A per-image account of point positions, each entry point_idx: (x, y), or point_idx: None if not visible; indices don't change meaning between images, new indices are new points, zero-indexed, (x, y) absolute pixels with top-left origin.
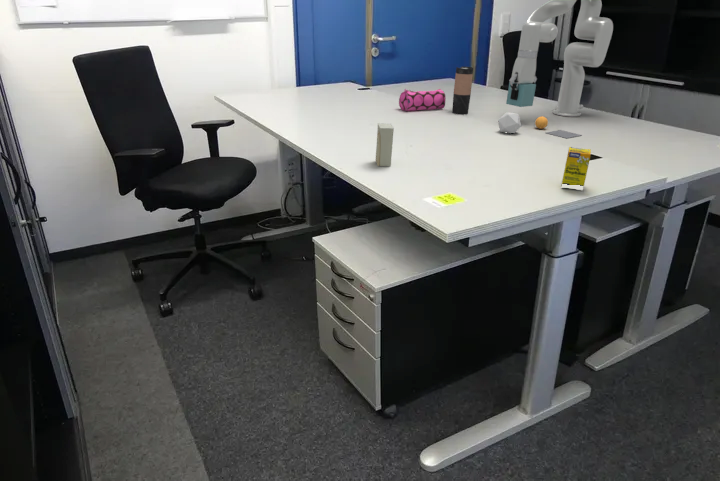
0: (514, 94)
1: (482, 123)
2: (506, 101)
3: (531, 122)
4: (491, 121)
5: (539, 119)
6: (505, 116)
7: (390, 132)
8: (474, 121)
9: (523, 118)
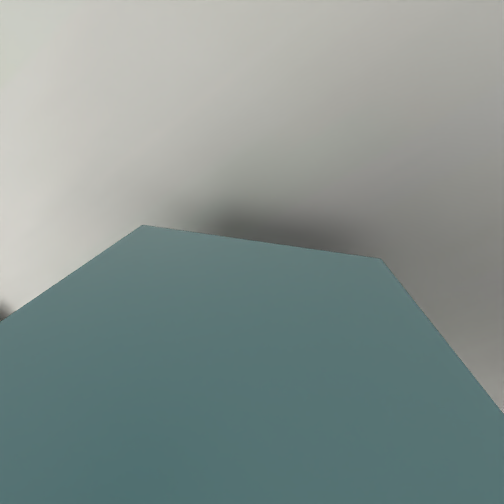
0: None
1: (19, 105)
2: (128, 234)
3: None
4: (141, 104)
5: None
6: None
7: None
8: (6, 5)
9: (484, 208)
